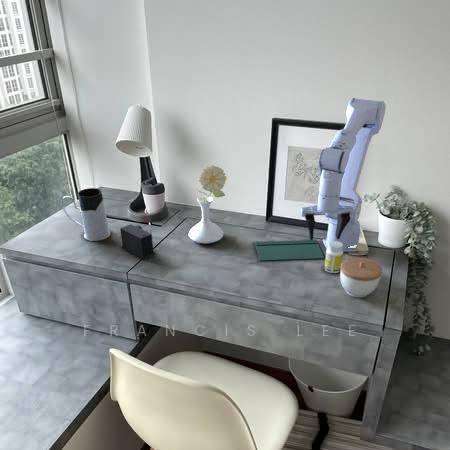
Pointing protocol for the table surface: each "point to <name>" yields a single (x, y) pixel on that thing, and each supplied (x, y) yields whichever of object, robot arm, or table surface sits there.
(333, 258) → the supplement bottle
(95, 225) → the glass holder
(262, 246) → the green board
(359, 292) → the trinket box
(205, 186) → the flower in vase
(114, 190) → the table surface
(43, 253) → the table surface
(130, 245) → the digital camera
